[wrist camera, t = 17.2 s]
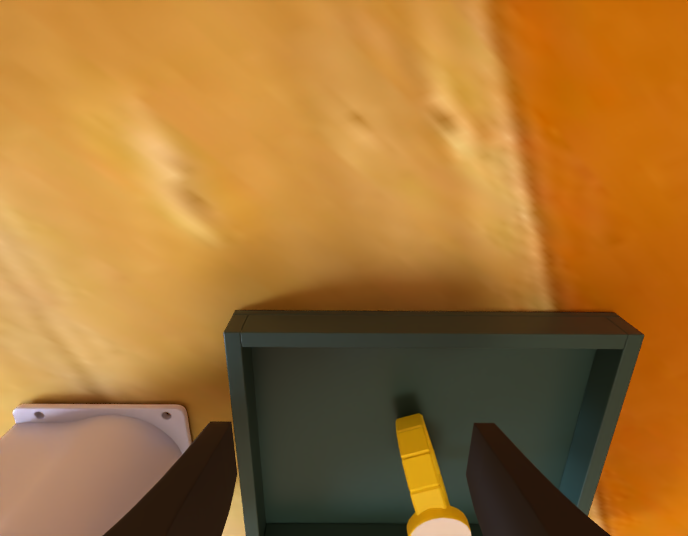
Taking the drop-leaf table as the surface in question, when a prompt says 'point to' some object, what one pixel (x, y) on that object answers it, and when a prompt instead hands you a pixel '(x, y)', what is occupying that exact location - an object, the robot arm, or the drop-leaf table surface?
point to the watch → (426, 483)
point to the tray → (413, 407)
